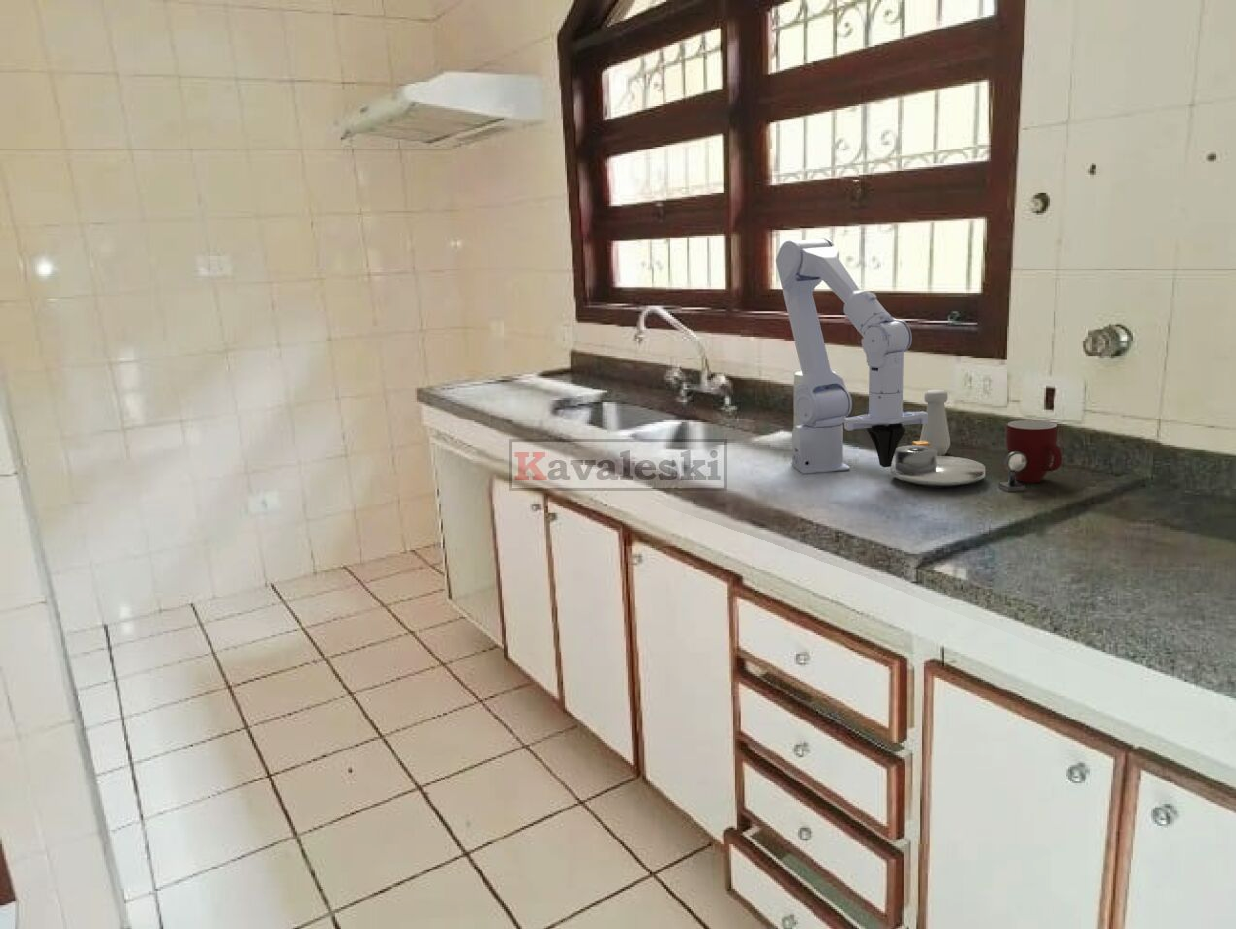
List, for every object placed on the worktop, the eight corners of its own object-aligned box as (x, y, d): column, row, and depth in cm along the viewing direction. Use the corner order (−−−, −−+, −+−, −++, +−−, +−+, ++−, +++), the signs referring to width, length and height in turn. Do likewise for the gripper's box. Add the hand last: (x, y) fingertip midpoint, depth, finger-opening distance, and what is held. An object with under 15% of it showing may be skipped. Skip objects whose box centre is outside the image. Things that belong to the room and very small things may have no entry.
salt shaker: (951, 456, 166) (954, 392, 163) (921, 457, 168) (923, 393, 164) (946, 449, 172) (948, 387, 169) (917, 450, 173) (918, 388, 170)
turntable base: (922, 489, 147) (922, 484, 146) (898, 475, 156) (898, 470, 156) (977, 484, 147) (977, 479, 147) (950, 470, 157) (950, 465, 157)
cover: (905, 475, 147) (905, 455, 146) (889, 465, 154) (889, 446, 153) (943, 471, 148) (944, 451, 147) (925, 462, 155) (926, 443, 154)
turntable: (913, 488, 143) (913, 465, 142) (876, 466, 159) (877, 444, 158) (1003, 480, 144) (1004, 456, 143) (958, 458, 160) (959, 437, 159)
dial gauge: (1005, 492, 142) (1007, 453, 141) (996, 487, 145) (998, 449, 143) (1026, 490, 142) (1028, 451, 141) (1016, 485, 145) (1018, 447, 144)
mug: (1077, 483, 144) (1081, 427, 142) (1045, 492, 141) (1048, 434, 138) (1025, 471, 153) (1028, 417, 151) (993, 478, 150) (996, 424, 148)
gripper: (853, 398, 143) (853, 474, 146) (936, 391, 144) (934, 467, 147) (839, 391, 149) (840, 465, 153) (918, 385, 150) (917, 458, 154)
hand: (885, 465), depth 150 cm, fingers closed
